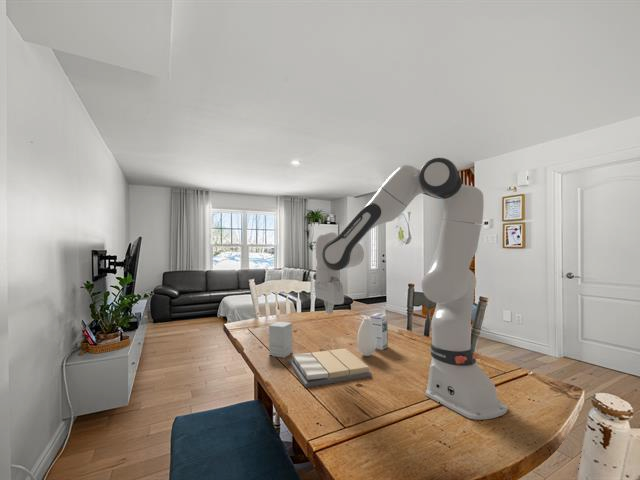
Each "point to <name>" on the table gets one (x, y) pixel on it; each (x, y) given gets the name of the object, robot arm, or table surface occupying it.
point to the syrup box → (380, 330)
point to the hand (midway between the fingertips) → (329, 313)
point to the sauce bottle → (366, 337)
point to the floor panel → (324, 380)
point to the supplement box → (280, 339)
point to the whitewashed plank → (309, 366)
